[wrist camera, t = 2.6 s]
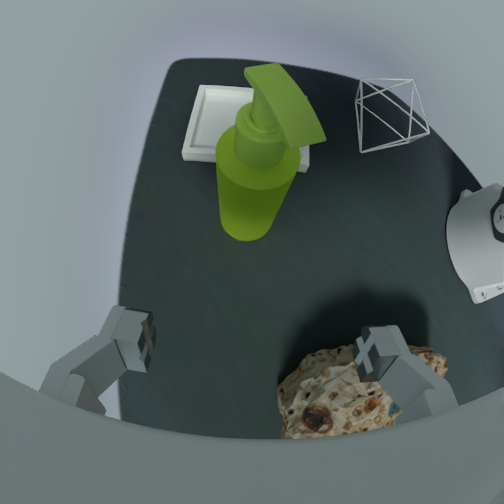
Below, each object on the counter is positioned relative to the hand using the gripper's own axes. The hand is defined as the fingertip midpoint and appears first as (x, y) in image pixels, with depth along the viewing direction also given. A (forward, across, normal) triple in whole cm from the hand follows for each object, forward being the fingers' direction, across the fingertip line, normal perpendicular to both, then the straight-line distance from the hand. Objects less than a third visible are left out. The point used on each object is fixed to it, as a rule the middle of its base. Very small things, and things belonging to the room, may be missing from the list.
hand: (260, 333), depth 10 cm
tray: (+30, +1, -4) cm, 30 cm away
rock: (+7, -14, +20) cm, 26 cm away
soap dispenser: (+21, 0, +6) cm, 22 cm away
